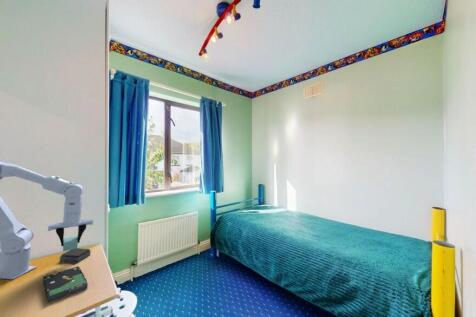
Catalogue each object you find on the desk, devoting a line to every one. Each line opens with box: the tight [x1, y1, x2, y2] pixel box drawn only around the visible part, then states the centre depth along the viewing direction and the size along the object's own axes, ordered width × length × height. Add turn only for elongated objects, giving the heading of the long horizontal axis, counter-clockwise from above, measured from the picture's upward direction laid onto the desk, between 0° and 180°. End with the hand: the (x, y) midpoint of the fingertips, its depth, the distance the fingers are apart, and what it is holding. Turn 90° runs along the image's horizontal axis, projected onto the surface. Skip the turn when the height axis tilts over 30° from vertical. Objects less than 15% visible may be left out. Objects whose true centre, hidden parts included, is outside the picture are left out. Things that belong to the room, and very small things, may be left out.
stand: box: [59, 247, 92, 264], centre depth 87 cm, size 8×7×3 cm
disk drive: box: [42, 265, 88, 304], centre depth 69 cm, size 10×3×15 cm
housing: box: [62, 235, 79, 252], centre depth 83 cm, size 4×6×3 cm
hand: (70, 243), depth 82 cm, fingers closed on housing, 4 cm apart
